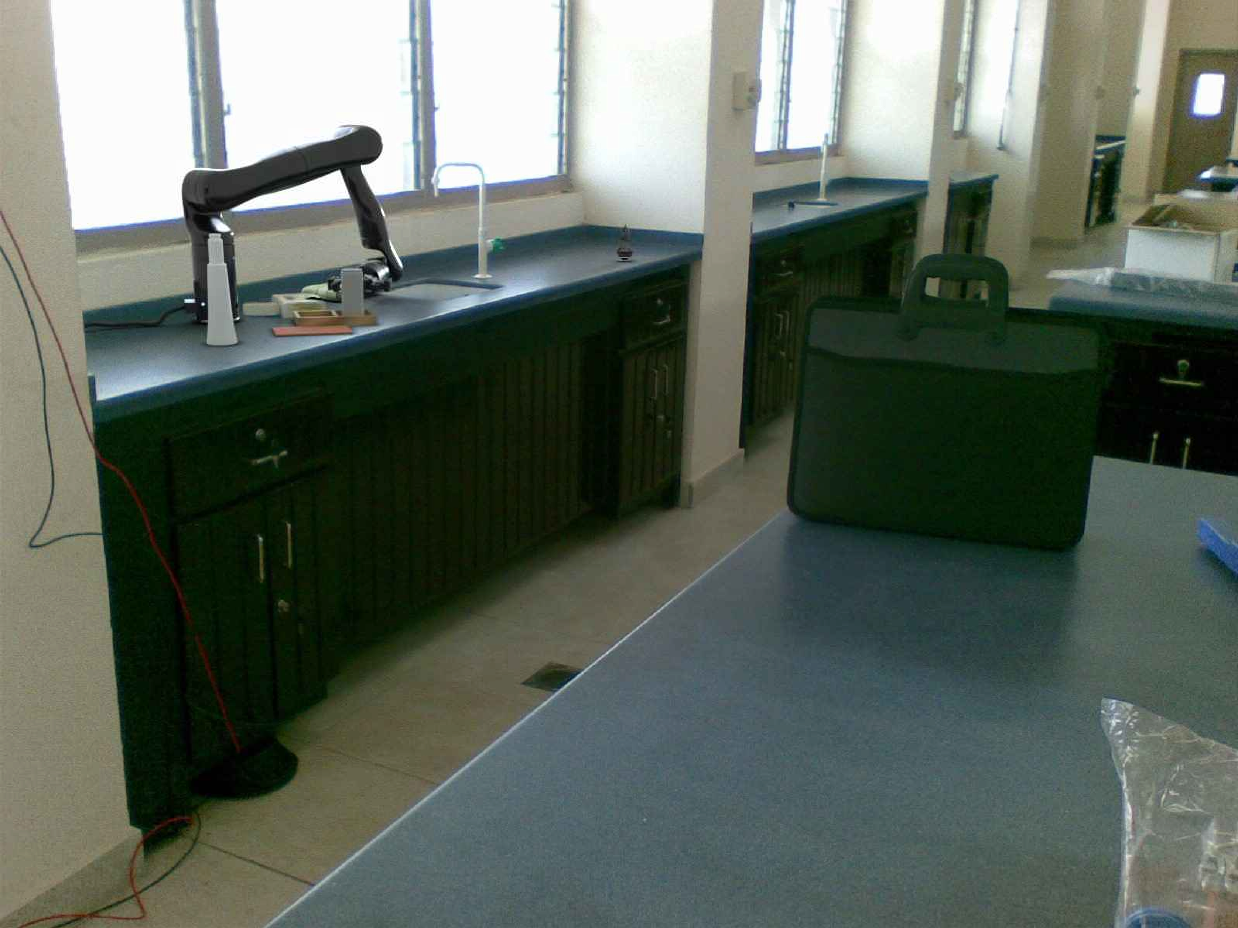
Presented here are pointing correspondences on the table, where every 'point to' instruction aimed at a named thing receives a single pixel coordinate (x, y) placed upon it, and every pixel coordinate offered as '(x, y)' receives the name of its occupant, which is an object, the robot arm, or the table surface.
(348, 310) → the grey rectangular block
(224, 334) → the cosmetic bottle
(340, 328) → the mat
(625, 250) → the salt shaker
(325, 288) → the washcloth
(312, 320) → the wooden compartment tray
